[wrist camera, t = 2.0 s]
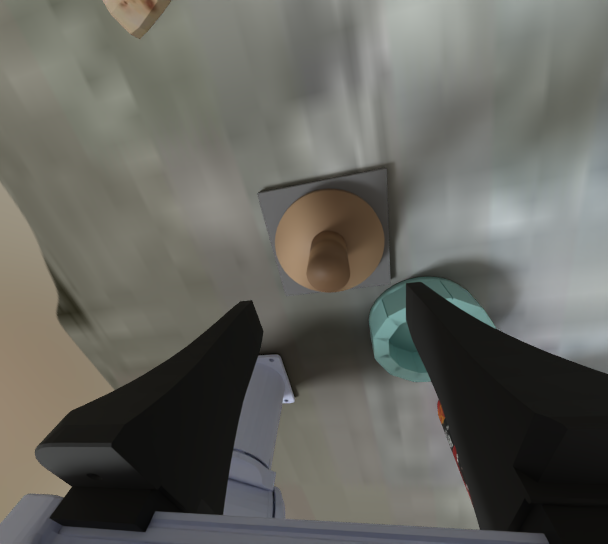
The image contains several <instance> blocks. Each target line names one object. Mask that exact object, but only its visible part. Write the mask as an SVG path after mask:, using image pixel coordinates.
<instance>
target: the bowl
mask: <svg viewBox="0 0 608 544" xmlns="http://www.w3.org/2000/svg"><path fill="white" fill-rule="evenodd" d="M412 282H422V283H424V284H425V285H426V286H428V287H429V288H431V289H432V290H433V291H435V292H436V293H438V294H439V295H441V296H442V297H443V298H445V299H446V300H448V301H449V302H451V303H452V304H454V305H455V306H457V307H459V308H460V309H462V310H463V311H465V312H467V313H468V314H470V315H472V316H473V317H475V318H477V319H479V320H480V321H482V322H484V323H486V324H488V325H489V326H491V327H493V328H495V329H496V327H495V326H494V324H493V323H492V321H491V320H490V318H489V317H488V315H487V313H486V312H485V310H484V309H483V308H482V307H481V306H480V304H479V303H478V302H477V301H476V300H475V299H474V298H473V297H472V295H471V294H470V293H469V292H468V291H467V290H466V289H463V288H462V287H461V286H460V285H458V284H457V283H455V282H453V281H450V280H448V279H444V278H439V277H417V278H412V279H408V280H405V281H402V282H400V283H397V284H395V285H394V286H392V287H390V288H389V289H387V290H386V291H385V292H383V293H382V294H381V295H380V296H379V297H378V298H377V300H376V301H375V302H374V304H373V306H372V308H371V310H370V313H369V328H370V336H371V342H372V347H373V352H374V357H375V360H376V361H377V362H378V363H379V364H380V365H381V366H382V367H383V368H384V369H385V370H386V371H387V372H388V373H389V374H391V375H393V376H397V377H400V378H403V379H406V380H409V381H412V382H431V380H430V377H429V375H428V373H427V371H426V369H425V367H424V364H423V362H422V360H421V358H420V356H419V354H418V351H417V349H416V347H415V345H414V343H413V340H412V338H411V335H410V332H409V328H408V325H407V322H406V283H412Z"/></svg>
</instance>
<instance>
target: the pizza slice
mask: <svg viewBox="0 0 608 544" xmlns="http://www.w3.org/2000/svg"><path fill="white" fill-rule="evenodd" d="M103 2H104V3H105V5H106V7H107V8H108V10H109V12H110V13H111V15H112V16H113V17H114V18H115V19H116V20H117V21H118V22H119V23H120V24H121V25H122V26H123V27H124V28H125V29H126V30H127V31H128V32H129V33H130V34H131V35H133V36H135V37H137V38H139V39H140V38H141V37H142V36H143V35H144V34H145V33H146V32H148V30H149V29H150V28H151V27H152V25H153V24H154V23H155V22H156V20H157V19H158V18H159V17H160V15H161V14H162V13H163V12H164V10H165V9H166V7H167V6H168V5H169V3H170V2H171V0H103Z"/></svg>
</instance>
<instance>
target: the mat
mask: <svg viewBox="0 0 608 544" xmlns="http://www.w3.org/2000/svg"><path fill="white" fill-rule="evenodd" d="M327 188H331V189H341V190H345V191H349V192H351V193H353V194H356V195H357V196H359V197H360V198H362V199H363V200H365V201H366V202H367V203H368V204H369V205H370V206H371V208H372V209H373V210H374V212H375V213H376V215H377V217H378V218H379V220H380V222H381V225H382V228H383V232H384V239H385V240H384V251H383V255H382V258H381V260H380V262H379V264H378V266H377V268H376V269H375V271H374V272H373V273H372V274H371V275H370V276H369V277H368V278H367V279H366V280H364V281H363V282H362V283H360V284H358V285H357V286H355V287H352V288H350V289H353V288H362V287H371V286H380V285H389V284H391V282H390V251H389V221H388V191H387V169H386V168H381V169H376V170H371V171H366V172H360V173H355V174H350V175H345V176H340V177H335V178H329V179H324V180H319V181H314V182H309V183H304V184H299V185H293V186H288V187H283V188H278V189H273V190H268V191H262V192H259V193H257V195H258V199H259V202H260V206H261V209H262V213H263V217H264V220H265V224H266V227H267V231H268V234H269V238H270V242H271V245H272V249H273V252H274V256H275V259H276V263H277V266H278V270H279V274H280V277H281V281H282V284H283V288H284V291H285V295H286V296H291V295H300V294H309V293H317V292H319V291H315V290H311V289H308V288H306V287H304V286H302V285H300V284H298V283H297V282H295V281H294V280H293V279H292V278H291V277H289V276H288V274H287V273H286V272H285V271H284V269H283V268H282V266H281V264H280V262H279V260H278V257H277V254H276V249H275V235H276V231H277V227H278V225H279V222H280V220H281V218H282V217H283V215H284V213H285V212H286V210H287V209H288V208H289V207H290V206H291V204H292V203H293V202H295V201H296V200H297V199H298V198H300V197H302V196H303V195H305V194H307V193H310V192H312V191H316V190H319V189H327Z"/></svg>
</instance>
